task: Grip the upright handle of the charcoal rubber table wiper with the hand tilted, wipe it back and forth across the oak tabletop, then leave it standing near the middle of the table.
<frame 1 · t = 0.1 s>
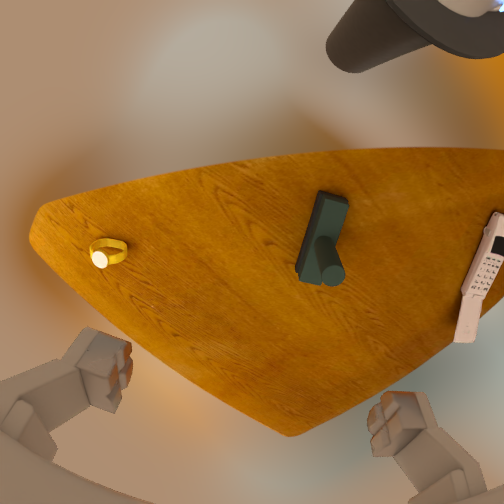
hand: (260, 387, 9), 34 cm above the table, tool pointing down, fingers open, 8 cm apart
mobile phone: (478, 267, 43), on the table
wiper: (319, 233, 42), on the table
watch: (116, 242, 46), on the table
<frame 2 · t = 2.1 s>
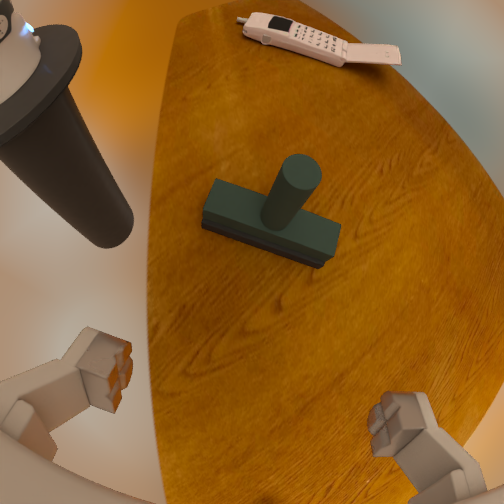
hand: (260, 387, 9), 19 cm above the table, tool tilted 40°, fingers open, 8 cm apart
mobile phone: (311, 50, 38), on the table
wiper: (266, 230, 30), on the table
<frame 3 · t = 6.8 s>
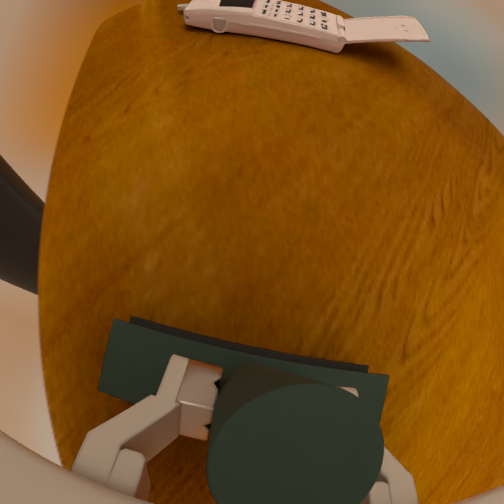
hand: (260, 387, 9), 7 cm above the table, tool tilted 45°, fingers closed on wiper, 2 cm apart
mobile phone: (291, 34, 25), on the table
wiper: (242, 384, 15), on the table, touching gripper
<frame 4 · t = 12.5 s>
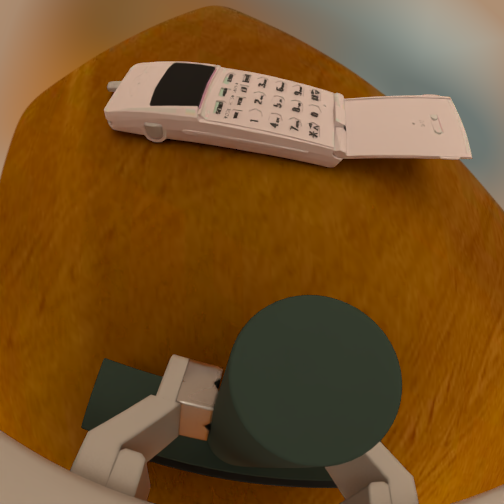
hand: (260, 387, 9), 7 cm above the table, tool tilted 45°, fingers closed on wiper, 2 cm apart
mobile phone: (266, 129, 20), on the table
wiper: (230, 441, 13), point 1 cm above the table, tilted 22°, touching gripper
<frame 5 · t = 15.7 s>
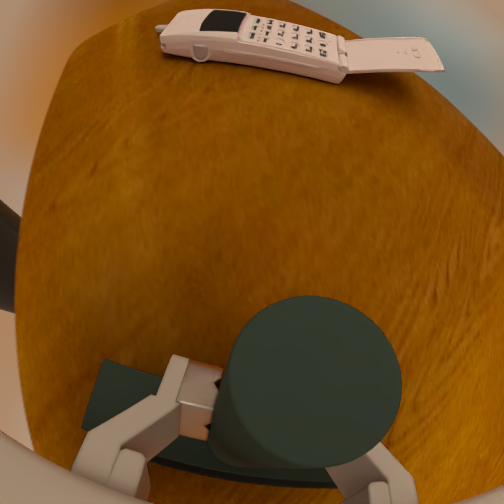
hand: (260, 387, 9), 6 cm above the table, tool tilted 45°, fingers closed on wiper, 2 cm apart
mobile phone: (285, 59, 23), on the table
wiper: (230, 442, 13), point 1 cm above the table, tilted 22°, touching gripper
when the fingers open (6 cm above the table, at t = 18.6 s): wiper stays where it is, on the table.
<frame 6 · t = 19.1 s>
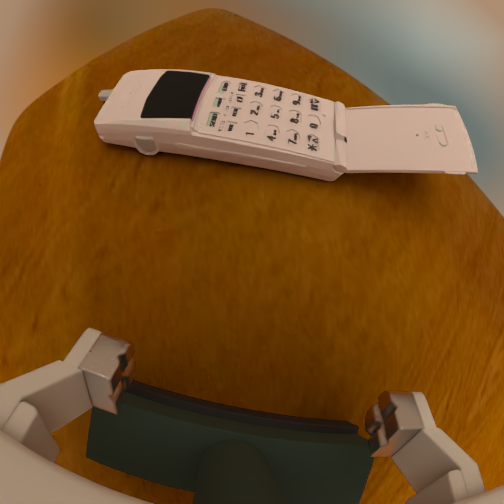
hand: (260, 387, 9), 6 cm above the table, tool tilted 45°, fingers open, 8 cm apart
mobile phone: (263, 140, 19), on the table
wiper: (229, 442, 13), on the table
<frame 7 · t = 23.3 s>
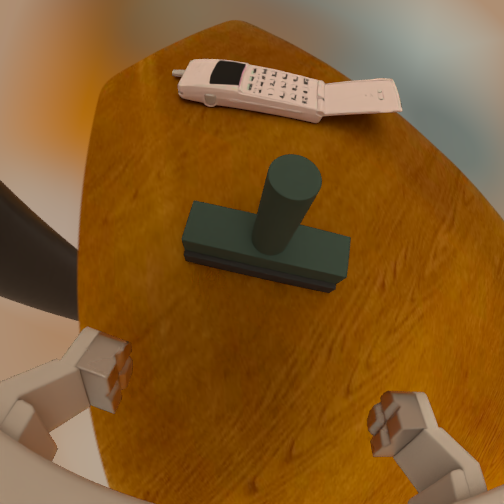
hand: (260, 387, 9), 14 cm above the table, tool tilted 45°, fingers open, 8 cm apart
mobile phone: (276, 102, 31), on the table
wiper: (263, 254, 25), on the table
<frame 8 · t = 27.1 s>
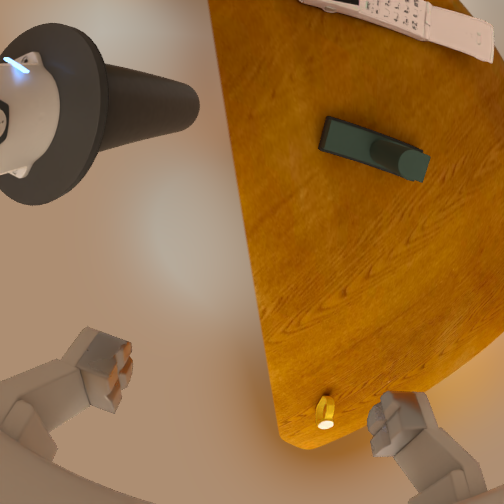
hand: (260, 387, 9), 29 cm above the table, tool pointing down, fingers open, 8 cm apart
mobile phone: (386, 11, 24), on the table
wiper: (370, 147, 32), on the table
watch: (323, 399, 51), on the table
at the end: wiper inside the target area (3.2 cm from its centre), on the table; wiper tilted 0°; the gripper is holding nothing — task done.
